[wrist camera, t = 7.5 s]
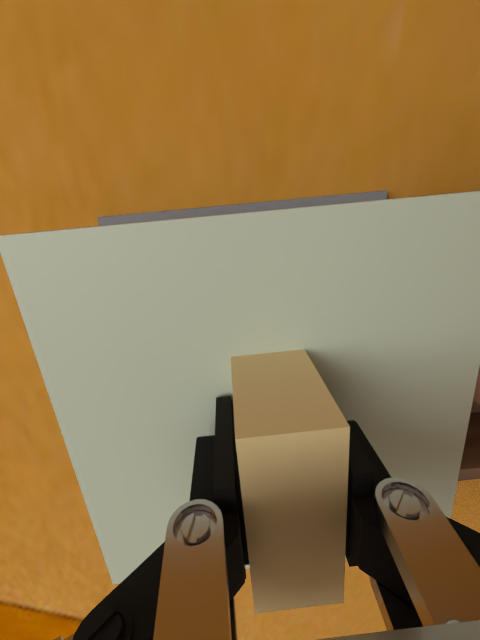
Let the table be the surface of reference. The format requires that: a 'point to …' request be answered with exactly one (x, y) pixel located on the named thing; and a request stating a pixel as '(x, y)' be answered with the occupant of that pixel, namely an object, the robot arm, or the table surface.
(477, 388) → the terracotta ball
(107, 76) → the table surface
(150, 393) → the lid
